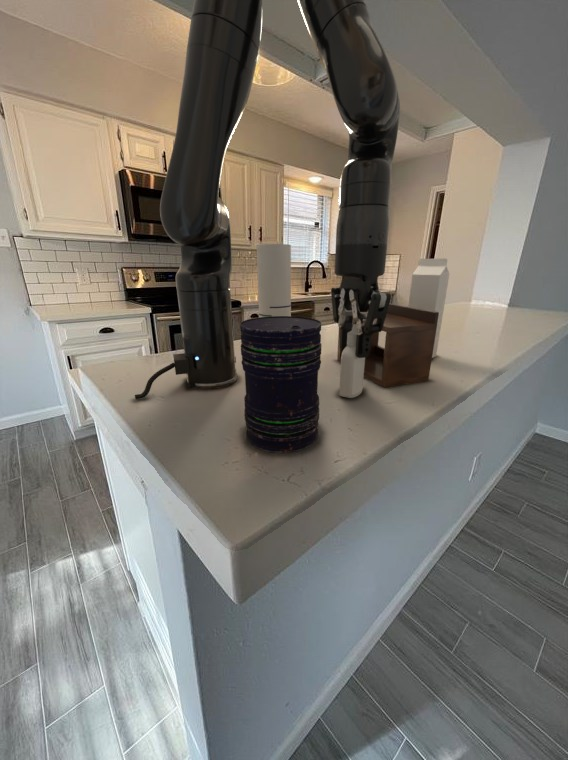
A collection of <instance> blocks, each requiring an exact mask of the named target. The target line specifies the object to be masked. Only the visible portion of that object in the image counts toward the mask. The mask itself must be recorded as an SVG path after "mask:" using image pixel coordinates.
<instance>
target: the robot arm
mask: <svg viewBox="0 0 568 760" xmlns="http://www.w3.org/2000/svg"><path fill="white" fill-rule="evenodd" d="M297 3H298V6H299V8H300V9H299V10H300V12H301V15H302V17H303V20H304V23H305V25H306V27H307V31H308V33H309V35H310V38H311V40H312V43H313V46H314V49H315V50H316V53H317V56H318V57H319V60H320V62H321V64H322V67H323V68H324V70H325V72H326V76H327V80H328V83H329V87H330V91H331V94H332V96H333V99H334V102H335V105H336V108H337V110H338V113H339V115H340V118H341V120H342V123H343V124H344V125H345V127H346V128H347V130H348V146H347V147H348V148H347V159H346V160H347V161H346V163H345V165H344V166H343V168H342V170H341V174H340V181H339V183H340V184H339V197H338V198H339V199H338V202H339V203H338V216H337V220H336V228H335V229H336V230H335V253H334V256H335V257H334V275H335V276H338V277H341V282H340V285H339V286H338V287H337V286H335V287H331V289H330V295H331V296H330V297H331V305H332V306H331V307H332V308H331V309H332V319H333V322H334V323H337V326H338V329H339V328H340V349H342V350H344V348H345V347H346V346H347V333H348V332H350V331H352V327H353V324H354V322H355V320H356V324H357V333H358V334H357V337H356V352H355V355H356V357H358V358H364V357H368V356H369V354H370V348H371V346H370V345H371V337H372V334H373V333H375V332H379V333H381V332H383V331H382V328H383V325H384V321H385V318H386V314H387V311H388V307H389V304H391V299H392V295H391V292H390V293H389V292H382V291H380V289H379V288H380V287H379V282H378V278H379V277H381V276H383V275H384V274H385V271H386V260H387V251H388V239H389V227H390V214H389V213H390V212H389V211H390V208H389V207H390V199H391V198H390V197H391V187H392V164H393V160H394V156H395V152H396V151H395V150H396V146H397V145H396V144H397V141H398V140H397V139H398V133H399V124H400V116H401V114H400V112H401V103H400V95H399V91H398V85H397V81H396V77H395V74H394V72H393V68H392V66H391V64H390V61H389V58H388V56H387V54H386V52H385V50H384V47H383V45H382V43H381V41H380V39H379V37H378V35H377V32H376V31H375V29H374V26H373V21H372V18H371V14H370V12H369V8H368V5H367V3H366V0H297ZM262 27H263V0H193V5H192V10H191V18H190V23H189V31H188V37H187V45H186V53H185V62H184V73H183V77H182V78H183V80H182V86H181V93H180V98H179V99H180V100H179V106H178V114H177V115H178V116H177V124H176V130H175V136H174V142H173V145H172V151H171V155H170V159H169V163H168V167H167V171H166V175H165V178H164V179H165V180H164V183H163V188H162V192H161V197H160V202H159V203H160V204H159V215H160V221H161V225H162V227H163V229H164V231H165V233H166V235H167V236H168V237H169V238H170V239H171V240H172V241H173V242H174V243H176V244H178V245H179V246H180V247H179V248H180V264H179V268H178V270H177V272H176V274H175V287H176V295H177V303H178V312H179V319H180V328H181V341H182V349H183V352H182V353H173V354H172V357H173V362H171V363H169V364H168V365H167V366H164V367H163V368H160V369H159V370H157V371H156V372H155V373H153V375H151V376H150V377H149V379H148V380H147V381H146V385H145V388H144V390H143V391H142V393H137V394H134V398H135V400H142V399H144V398H145V397H147V396H148V395H149V393H150V391H151V389H152V385H153V383H154V382H155V381H156V379H158V378H159V377H160V376H162V375H163V374H165V373H167V372H168V371H170V370H172V369H174V372H175V375H176V376H177V375H186V381H187V385H188V388H189V389H201V390H211V389H219V388H223V387H227V386H231V385H232V384H234V383H236V381H237V379H238V378H237V375H238V374H237V368H236V363H237V358H236V353H235V339H234V324H233V323H234V322H233V310H232V293H231V275H232V268H233V264H232V263H233V260H232V259H233V258H232V256H233V255H232V235H231V233H232V232H231V221H230V215H229V211H228V209H227V206H226V204H225V203H224V201H223V200H222V199H221V197H219V192H220V185H221V175H222V169H223V163H224V160H225V159H224V158H225V155H226V151H227V148H228V145H229V143H230V140H231V139H232V135H233V134H234V132H235V129H237V126H238V124H239V122H240V119H241V118H242V115H243V113H244V111H245V109H246V106H247V103H248V101H249V97H250V94H251V90H252V86H253V81H254V77H255V72H256V68H257V63H258V59H259V58H258V57H259V53H260V48H261V47H260V46H261V39H262V29H263V28H262ZM360 312H368V313H365V314H362V313H360ZM339 314H340V315H339ZM349 316H350V317H349ZM363 319H366V322H365V326H364V325H363ZM374 319H377V322H376V324H374Z"/></svg>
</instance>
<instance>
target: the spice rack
mask: <svg viewBox="0 0 568 760" xmlns="http://www.w3.org/2000/svg"><path fill="white" fill-rule="evenodd" d="M360 313H362V314H365V313H368V312H360ZM339 315H340V314H339ZM438 316H439V312H434V311H428V310H423V309H417V308H412V307H408V306H405V305H401V304H394V303H390V304H389V307H388V311H387V314H386V318H385V321H384V325H383V328H382V331H381V332H384V333H385V340H384V342H385V343H384V347H383V346H380V345H379V339H380V332H375V333H373V334H372V337H371V345H370V346H371V348H370V354H369V356H368V357H365V366H364V378H367V379H369V380H370V381H372V382H374V383H376V384H377V385H380V386H381V387H383V388H391V387H397V386H403V385H408V384H415V383H423V382H427V381H429V380H430V379H429V378H430V374H431V368H432V360H433V358H432V355H433V348H434V342H435V335H436V329H437V322H438ZM349 317H350V316H349ZM365 322H366V319H363V325H364V326H365ZM376 322H377V319H374V324H376ZM354 324H356V320H355V322H354ZM352 328H353V327H352ZM337 336H338V338H337V354H336V355H337V356H336V357H337V358H336V359H337V360H336V362H338V363H340V364H341V356H342V352H343V350H342V349H340V328H339V327H338V335H337Z"/></svg>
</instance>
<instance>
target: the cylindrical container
mask: <svg viewBox="0 0 568 760" xmlns="http://www.w3.org/2000/svg"><path fill="white" fill-rule="evenodd" d="M256 267H257V269H256V270H257V298H258V318H260V317H272V316H292V315H291V314H292V245H291V244H288V243H270V244H269V243H264V244H256Z"/></svg>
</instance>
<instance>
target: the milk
mask: <svg viewBox="0 0 568 760" xmlns="http://www.w3.org/2000/svg"><path fill="white" fill-rule="evenodd" d="M449 278H450V272H449V269H448V258H419V260H418V265H417V267H416V269H415V270H414V271H413V273H412V274H411V283H410V288H409V289H410V290H409V297H408V306H407V307H412V308H417V309H423V310H428V311H434V312H439V316H438V322H437V329H436V335H435V342H434V348H433V355H432V359H433V358H435V357H437V353H438V347H439V341H440V334H441V328H442V321H443V315H444V309H445V303H446V299H447V290H448V285H449Z"/></svg>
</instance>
